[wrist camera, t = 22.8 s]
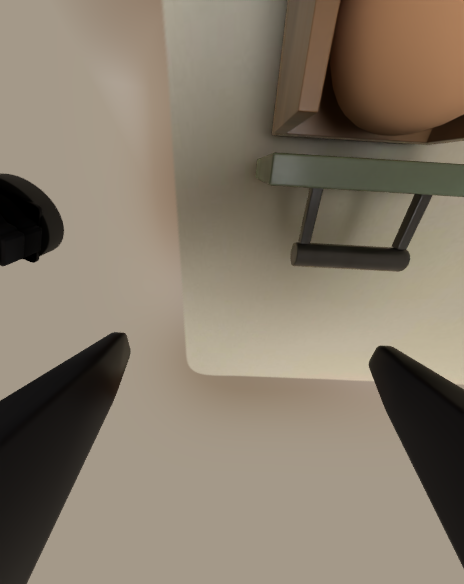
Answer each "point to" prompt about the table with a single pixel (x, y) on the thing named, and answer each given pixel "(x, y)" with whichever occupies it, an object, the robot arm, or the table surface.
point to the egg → (399, 64)
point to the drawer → (335, 125)
